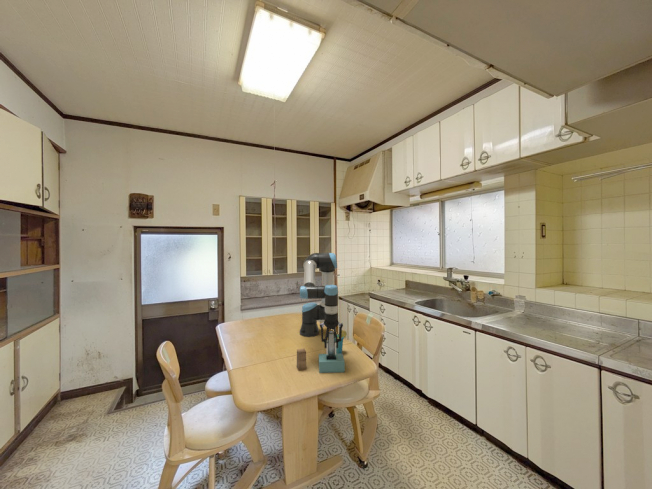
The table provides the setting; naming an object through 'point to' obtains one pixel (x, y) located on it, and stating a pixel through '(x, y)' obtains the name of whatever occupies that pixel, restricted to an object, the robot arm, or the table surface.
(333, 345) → the round dowel
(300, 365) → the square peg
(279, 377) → the table surface
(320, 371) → the socket block
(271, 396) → the table surface
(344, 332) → the cup
